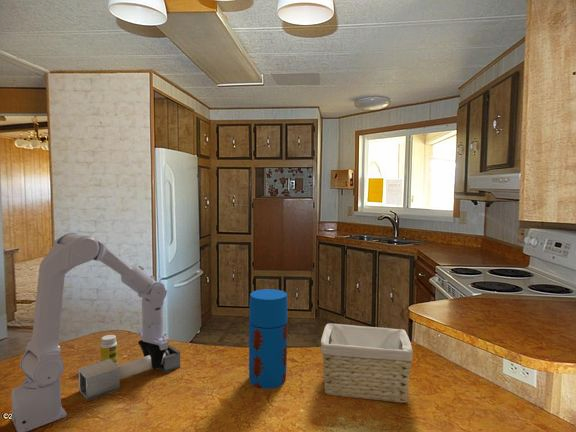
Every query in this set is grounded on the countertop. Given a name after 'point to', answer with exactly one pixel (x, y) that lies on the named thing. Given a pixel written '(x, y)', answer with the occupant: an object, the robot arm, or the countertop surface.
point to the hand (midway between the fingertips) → (153, 365)
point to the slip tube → (137, 365)
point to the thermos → (267, 338)
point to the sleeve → (99, 379)
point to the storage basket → (366, 362)
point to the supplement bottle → (108, 348)
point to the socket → (171, 360)
